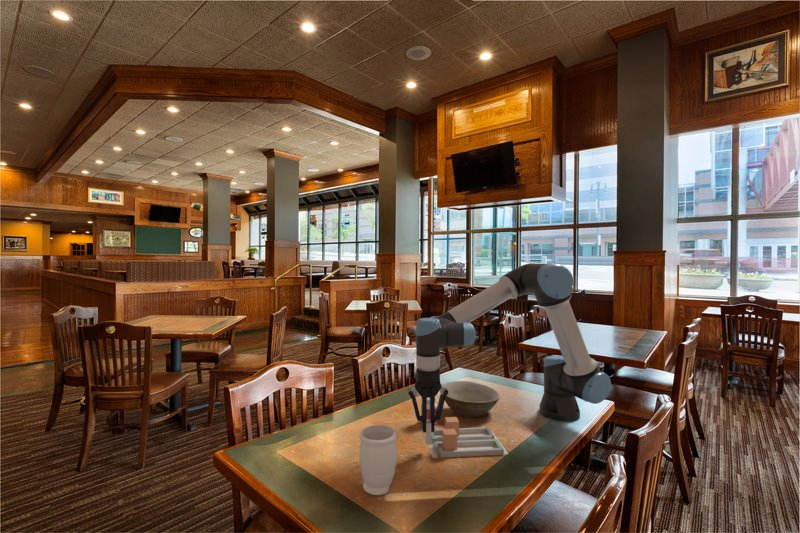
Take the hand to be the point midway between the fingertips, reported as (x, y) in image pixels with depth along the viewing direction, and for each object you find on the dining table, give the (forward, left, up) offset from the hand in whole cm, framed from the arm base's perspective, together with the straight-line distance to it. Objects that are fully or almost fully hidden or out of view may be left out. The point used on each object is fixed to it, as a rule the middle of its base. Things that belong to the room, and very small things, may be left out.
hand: (428, 441), depth 121 cm
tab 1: (-10, -9, -3) cm, 14 cm away
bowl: (-22, -31, -5) cm, 39 cm away
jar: (+16, +15, -5) cm, 22 cm away
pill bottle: (-4, -21, -5) cm, 22 cm away
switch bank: (-13, -4, -5) cm, 14 cm away
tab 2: (-7, 0, -3) cm, 8 cm away
